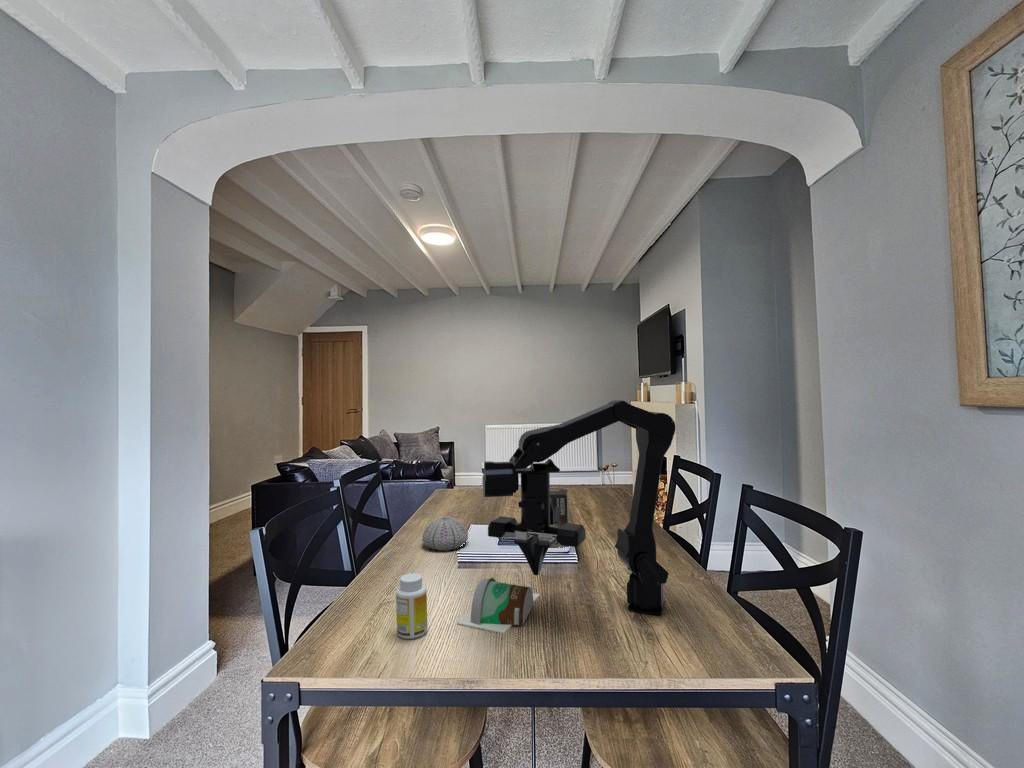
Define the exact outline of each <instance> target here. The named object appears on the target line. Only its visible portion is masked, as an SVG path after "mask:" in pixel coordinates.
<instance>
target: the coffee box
mask: <svg viewBox="0 0 1024 768" xmlns="http://www.w3.org/2000/svg"><path fill="white" fill-rule="evenodd" d="M568 494H569V491H568V489H551V488H550V498H552V504H553V506H556V507H558V508H560V514H559V524H554V525H550V527H556V528H560V527H561V526H563V525H564V524H565V523H569V524H570V521H569V520H570V519H569V517H570V516H569V495H568ZM542 532H543V531H542ZM538 540H539V538H537V541H538ZM559 547H560V548H563V547H564V548H565V547H569V546H562V545H560V544H559V542H558V541H556V542H555V543H554V544H552V545H551V546H550V547H549V548H559Z"/></svg>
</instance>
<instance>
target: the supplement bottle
mask: <svg viewBox="0 0 1024 768" xmlns="http://www.w3.org/2000/svg"><path fill="white" fill-rule="evenodd" d="M399 581H400V582H399V586H398V588H397V589H396V591H395V600H396V601H395V602H396V604H395V607H396V608H395V609H396V612H395V613H396V633H397V635H398V636H399V638H402V639H405V640H412V639H417V638H420V637H423V636H424V635H425V634H426V633H427V631H428V601H427V600H428V599H427V595H428V594H427V587H426V585H424V584H423V577H422V575H421V574H419V573H407V574H404V575H402V576H401V577H400V579H399Z"/></svg>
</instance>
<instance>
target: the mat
mask: <svg viewBox="0 0 1024 768" xmlns="http://www.w3.org/2000/svg"><path fill="white" fill-rule="evenodd" d="M532 593H533V604H535V602H536V601H537V600H538V599H539V598H540V597H541V593H534V592H532ZM456 625H460V626H464V627H468V628H473V627H474V628H473V629H477V628H480V629H479V630H482V629H484V630H483V631H487V630H490V631H489V632H492V631H493V632H492V633H496V632H497V633H496V634H502V635H505V634H506V633H507V632H508V631H509V630H508V629H510V628H512V626H513V625H505V624H486V623H480V625H478V624H474V623H471V610H470V611H469V612H468V613H466V614H465V615H464V616H463V617H462V618H461V619H460V620H458V621H456Z"/></svg>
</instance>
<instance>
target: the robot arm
mask: <svg viewBox="0 0 1024 768" xmlns="http://www.w3.org/2000/svg"><path fill="white" fill-rule="evenodd" d="M617 422H620V423H621V424H624V425H626V426H628V427H630V428H633V429H634V430H635V441H636V445H637V450H638V460H637V467H636V475H635V482H634V488H633V495H632V502H631V508H630V515H629V521H628V523H627V525H626V526H625V528H624V529H622V528H617V533H616V534H617V540H616V543H615V545H614V548H615V550H616V551H617V557H618V558H619V560H620V561H621V562H622V563H623V564H624V565H625V566H626V568H627V570H628V571H630V572H631V573H630V575H629V576H628V577H629V578H628V580H627V582H626V602H627V603H626V604H628V606H627V610H628V611H630V612H635V613H643V614H649V615H653V616H661V615H662V614H663V611H664V608H665V605H666V600H665V599H664V598H665V597H664V596H665V595H664V591H665V590H664V584H666V583H667V581H668V577H669V575H670V573H669V572H668V570H666V569H665V568H664V567H663V566H662V565H661V564H660V563H659V562H658V561H657V544H656V539H655V538H656V537H655V533H654V530H653V529H654V520H655V512H656V506H657V499H658V493H659V492H658V491H659V485H660V480H661V479H660V478H661V471H662V464H663V459H664V456H665V455H666V454H667V452H668V450H669V449H670V447H671V445H672V442H673V439H674V437H675V433H676V422H675V420H674V419H673V417H671V416H670V415H669V414H667V413H664V412H658V411H648V410H646V409H643V408H640V407H638V406H635V405H633V404H630V403H628V402H627V401H625V400H619V399H618V400H617V399H613V400H610V401H609V402H608V403H607V404H603V405H602V406H600V407H599V406H598V407H597V408H595V409H593V410H590V411H588V412H585V413H583V414H581V415H578V416H576V417H573V418H571V419H569V420H567V421H563V422H562V423H560V424H556V425H555V424H554V425H550V426H545V427H544V426H543V427H538V428H534V429H530V430H527V431H525V432H524V433H522V434H521V436H520V438H519V440H518V447H517V448H516V450H515V451H514V453H513V454H512V456H511V457H510V459H509V460H508V461H486V460H485V461H484V463H483V465H484V466H483V467H484V468H483V476H482V492H483V493H482V495H483V498H496V497H499V498H500V497H514V494H516V493H517V491H519V487H520V501H518V508H520V519H521V521H520V522H519V523H518V521H517V519H516V517H513V516H510V517H509V516H498V517H497V518H494V519H493V520H492V521H491V520H490V522H489V523H488V525H487V536H488V537H490V538H498V539H499V538H500V539H502V538H503V536H505V535H506V533H510V534H511V533H514V534H515V539H514V540H513V544H515V545H518V547H519V549H520V550H521V553H522V554H523V555H524V557H525V559H526V561H527V563H528V566H529V568H530V571H531V572H532V575H533V576H539V575H540V572H541V570H542V568H543V567H542V566H543V564H544V560H545V558H546V554H547V553H546V552H547V550H548V548H549V547H550V546H551V545H552V544H554V543H555V542H556V541H558V542H559V544H560V545H562V546H570V547H572V548H578V547H579V546H580V545H581V544H582V543H583V542H584V541H585V540H586V539H587V538H586V536H587V535H586V529H585V527H584V525H583V524H578V523H577V524H576V523H570V522H569V523H565V524H564V525H563V526H561V527H560V528H556V527H550V525H554V524H559V514H560V508H558V507H556V506H553V504H552V498H550V489H551V486H550V485H551V484H550V482H551V480H550V478H551V476H550V474H551V473H559V472H561V469H560V467H558V466H556V464H555V463H554V461H553V460H552V459H551V458H550V457H553V455H555V454H556V453H558V452H560V450H561V449H563V448H564V447H565V446H566V445H568V444H570V443H571V442H574V441H576V440H578V439H581V438H582V437H585V436H587V435H590V434H592V433H595V432H597V431H599V430H601V429H603V428H606V427H609V426H610V425H614V424H616V423H617ZM544 461H545V462H544ZM519 475H520V480H519ZM519 481H520V483H519ZM542 531H543V532H542ZM537 538H539V540H538V541H537Z"/></svg>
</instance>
